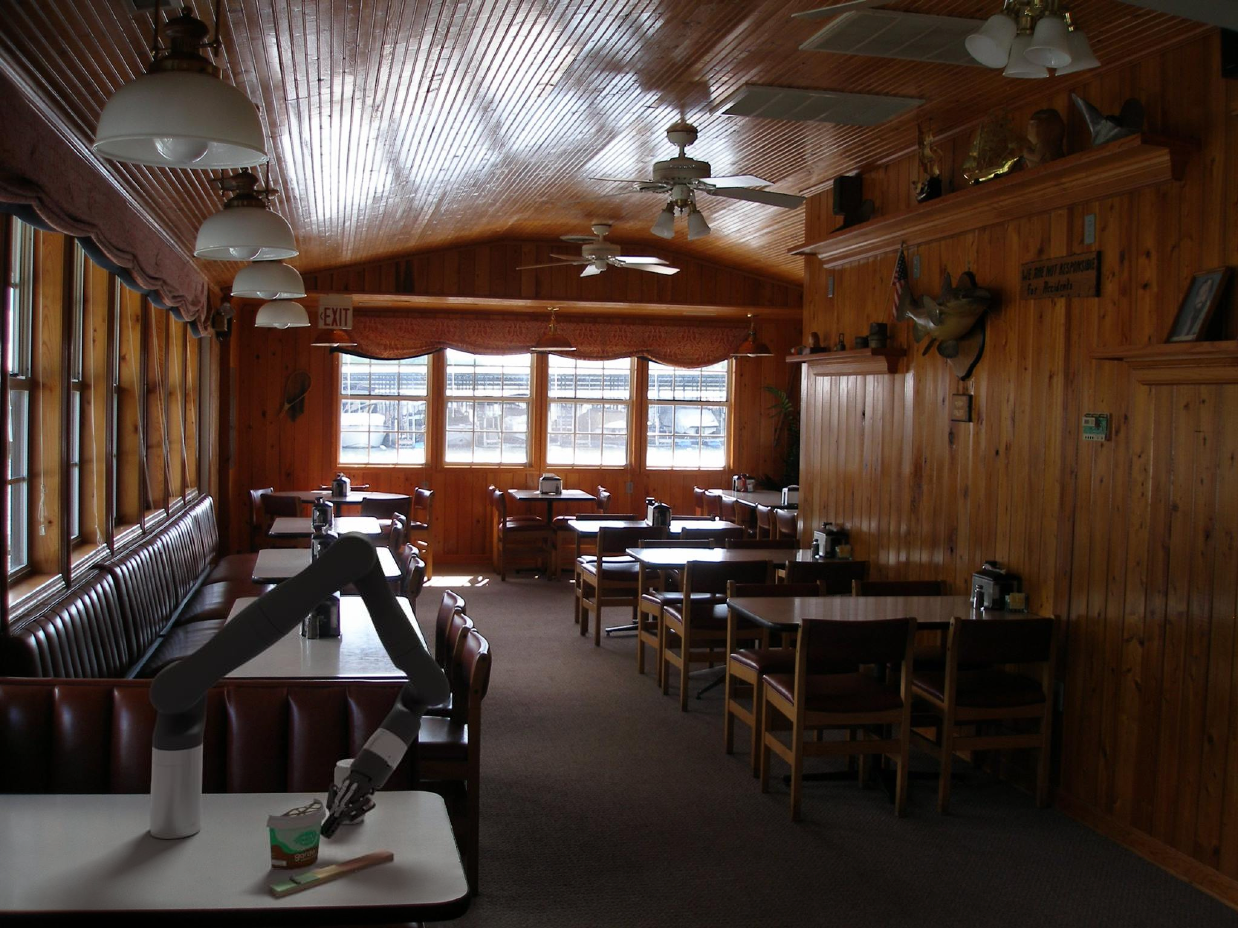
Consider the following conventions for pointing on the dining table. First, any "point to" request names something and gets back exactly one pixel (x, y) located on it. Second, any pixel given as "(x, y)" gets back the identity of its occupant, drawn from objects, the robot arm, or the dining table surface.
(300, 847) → the food container
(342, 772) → the beverage can
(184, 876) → the dining table surface
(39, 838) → the dining table surface
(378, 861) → the strip
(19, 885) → the dining table surface
